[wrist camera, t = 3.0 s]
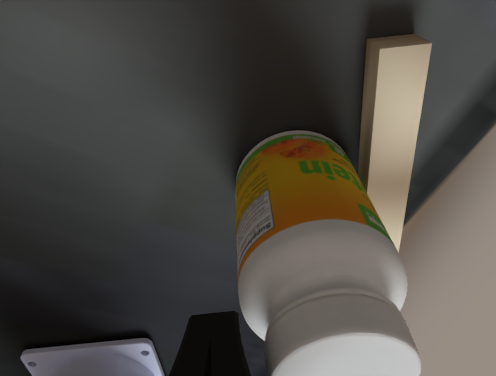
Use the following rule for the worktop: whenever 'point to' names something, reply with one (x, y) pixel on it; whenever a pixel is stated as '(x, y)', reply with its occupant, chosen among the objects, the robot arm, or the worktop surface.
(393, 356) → the supplement bottle
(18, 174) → the worktop surface
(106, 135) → the worktop surface
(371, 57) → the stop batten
